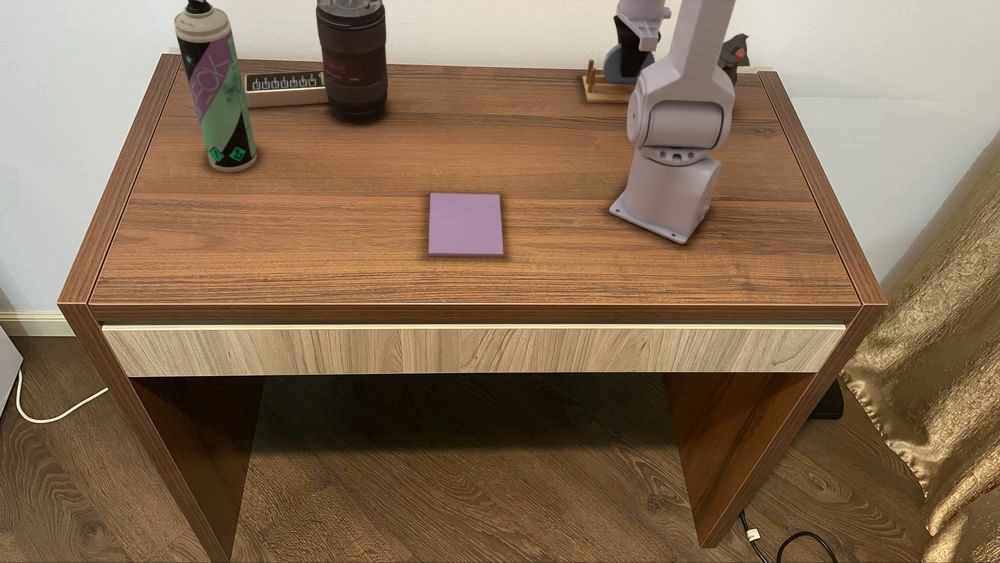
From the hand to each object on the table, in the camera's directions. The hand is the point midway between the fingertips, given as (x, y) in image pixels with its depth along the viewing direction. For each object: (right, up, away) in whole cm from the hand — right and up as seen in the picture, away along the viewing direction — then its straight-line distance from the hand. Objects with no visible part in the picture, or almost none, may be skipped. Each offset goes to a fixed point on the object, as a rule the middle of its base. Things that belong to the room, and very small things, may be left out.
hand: (627, 73), depth 104 cm
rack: (0, -2, +2) cm, 3 cm away
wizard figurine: (+12, -6, 0) cm, 14 cm away
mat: (-21, -22, -20) cm, 37 cm away
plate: (0, +1, -1) cm, 1 cm away
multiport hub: (-45, -4, -4) cm, 46 cm away
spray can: (-49, -14, -14) cm, 53 cm away
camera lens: (-36, -6, -5) cm, 37 cm away
